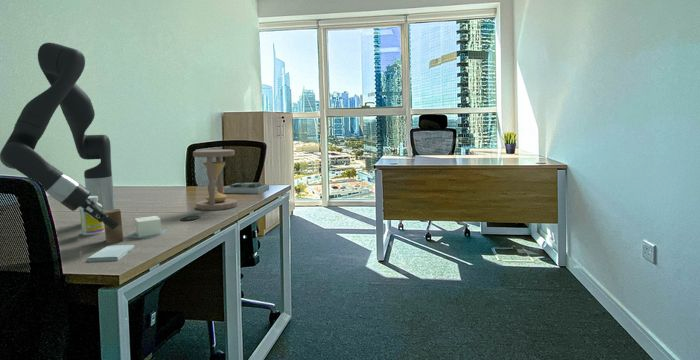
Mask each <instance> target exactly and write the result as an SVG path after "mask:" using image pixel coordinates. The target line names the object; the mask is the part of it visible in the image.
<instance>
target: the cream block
mask: <svg viewBox="0 0 700 360" xmlns="http://www.w3.org/2000/svg"><path fill="white" fill-rule="evenodd" d="M134 225H135V232H136V234H137V235H138V236H139V237H143V236H150V235H157V234H161V235H162V230H161V229H162V219H161V218H160V216H158V215H152V216H143V217H136V218H135V217H134Z"/></svg>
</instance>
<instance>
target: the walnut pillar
mask: <svg viewBox="0 0 700 360" xmlns="http://www.w3.org/2000/svg"><path fill="white" fill-rule="evenodd" d="M121 211H122V210H121V209H119V208H115V209H114V210H105V211H104V213H105V214H106V215H108V217H110V218H111V219H112V220H114V221H115V222H117V223H118V225H117V226H116V228H115V229H112V228H110V227H109V226H107V225H106V224H104V233H105V241H106V244H112V243H119V242H123V241H124V237H123V236H124V235H123V223H122V212H121Z"/></svg>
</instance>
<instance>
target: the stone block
mask: <svg viewBox="0 0 700 360" xmlns="http://www.w3.org/2000/svg"><path fill="white" fill-rule="evenodd" d="M261 184H262V183H261V182H246V181H244V182H236V183H232V184H230V185H229V186H230V187H242V188H258V187H261Z"/></svg>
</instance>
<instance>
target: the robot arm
mask: <svg viewBox="0 0 700 360" xmlns="http://www.w3.org/2000/svg"><path fill="white" fill-rule="evenodd" d="M37 60H38V66H39V68H40V69H41V72H42V73H43V75H44V76H45V79H46V80H47V81H48V83H49V85H50V86H49V87H48V88H47V89H45V90H44V91H43V92H41V93H39V94H38V95H36V96H35V97H33V98H32V99H31V100H30V101H28V102H27V103H26V104H25V106H24V107H23V108H22V110H21V112H20V113H19V116H18V118H17V120H16V122H15V124H14V127H13V131H12V132H11V134H10V136H9V137H8V139H7V140H6V142H5V144H4V145H3V147H2V149H1V150H0V162H1V163H2V165H4V166H5V167H6V168H9V169H12V170H16V171H18V172H19V173H21V174H22V175H24V176H25V177H27V178H28V179H29V178H32V179H35V180H37V181H38V182H40V183H41V184H42V186H43V187H44V189H45V191H44V192H45V193H46V194H48V195H49V197H51V198H52V199H54V200H56V201H57V203H58V202H59V203H60V204H61V205H63V206H65V208H67V209H69V210H70V211H71V212H72V211H73V212H74V211H76V210H77V209H78V208H80V207H82V208H83V209H84V210H83V212H85V213H86V214H88V215H90V216H91V217H92V218H94V219H96V220H98V221H99V222H102V223H104V224H106V225H107V226H109V227H110V228H112V229H115V228H116V226H117V225H118V223H117V222H115V221H114V220H112V219H111V218H110V217H108V215H106V214H105V213H104V211H105V210H114V209H116V207H115V206H116V204H115V195H114V184H113V183H114V182H113V172H112V171H113V170H112V158H111V157H112V155H111V154H112V153H111V152H112V151H111V140H110V138H109V136H108V135H107V134H86V131H87V130H88V128H89V127H90V125H91V124H92V122H93V121H94V118H95V114H96V113H95V109H94V107H93V106H94V105H93V103H92V100H91V98H90V97H89V95H88V93H86V91H85V90H83V89H82V88H81V87H80V86H79V85H78V83H77V82H78V80H79V78H80V77H81V75H82V73H83V72H84V69H85V66H86V58H85V56H84V53H83V52H82V51H80V50H78V49H76V48H73V47H69V46H66V45H62V44H58V43H55V42H45V43H43V44H41V45H40V46H39V48H38V50H37ZM59 106H60V107H59ZM58 107H59V108H60V110H61V112H62V114H63V117H64V118H65V120H66V123H67V125H68V127H69V130H70V132H71V135H72V139H73V141H74V145H75V149H76V151H77V153H78V156H79V157H80V159H82V160H100V162H99V163H98V164H97V165H95V166H93V167H91V168H87V169H85V170H84V172H83V177H84V186H83V185H82V184H81V183H80V182H78V181H77V180H75V179H74V178H72V177H70V176H68V175H67V174H65V173H63V171H61V170H59V169H58V168H57V167H55V166H54V165H52V164H50V163H49V162H47V160H45V159H44V158H43V157H42V156H41V154H38V153H37V152H36V151H35V148H36V146H37V144H38V142H39V140H40V139H42V137H43V135H44V133H45V131H46V130H47V128H48V125H49V123H50V121H51V119H52V118H53V115H54V114H55V112H56V111H57V109H58ZM89 196H98V203H99V204H101V205H102V207H101V206H99V205H98V204H97V203H96V202H95V201H93V200H92V201H91V200H90V199H88V197H89ZM99 217H100V218H99Z"/></svg>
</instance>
